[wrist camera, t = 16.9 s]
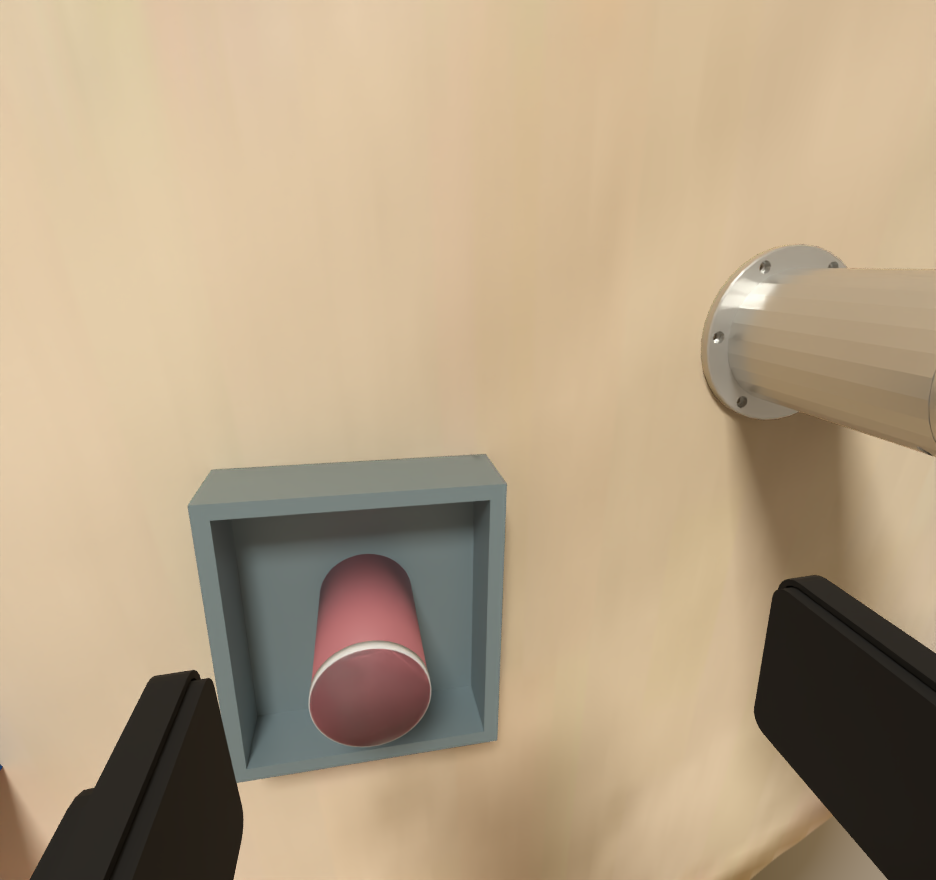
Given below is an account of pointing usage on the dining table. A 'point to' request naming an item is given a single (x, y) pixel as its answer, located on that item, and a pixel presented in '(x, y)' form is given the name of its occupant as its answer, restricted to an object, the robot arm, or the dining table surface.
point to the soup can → (367, 654)
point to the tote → (299, 582)
